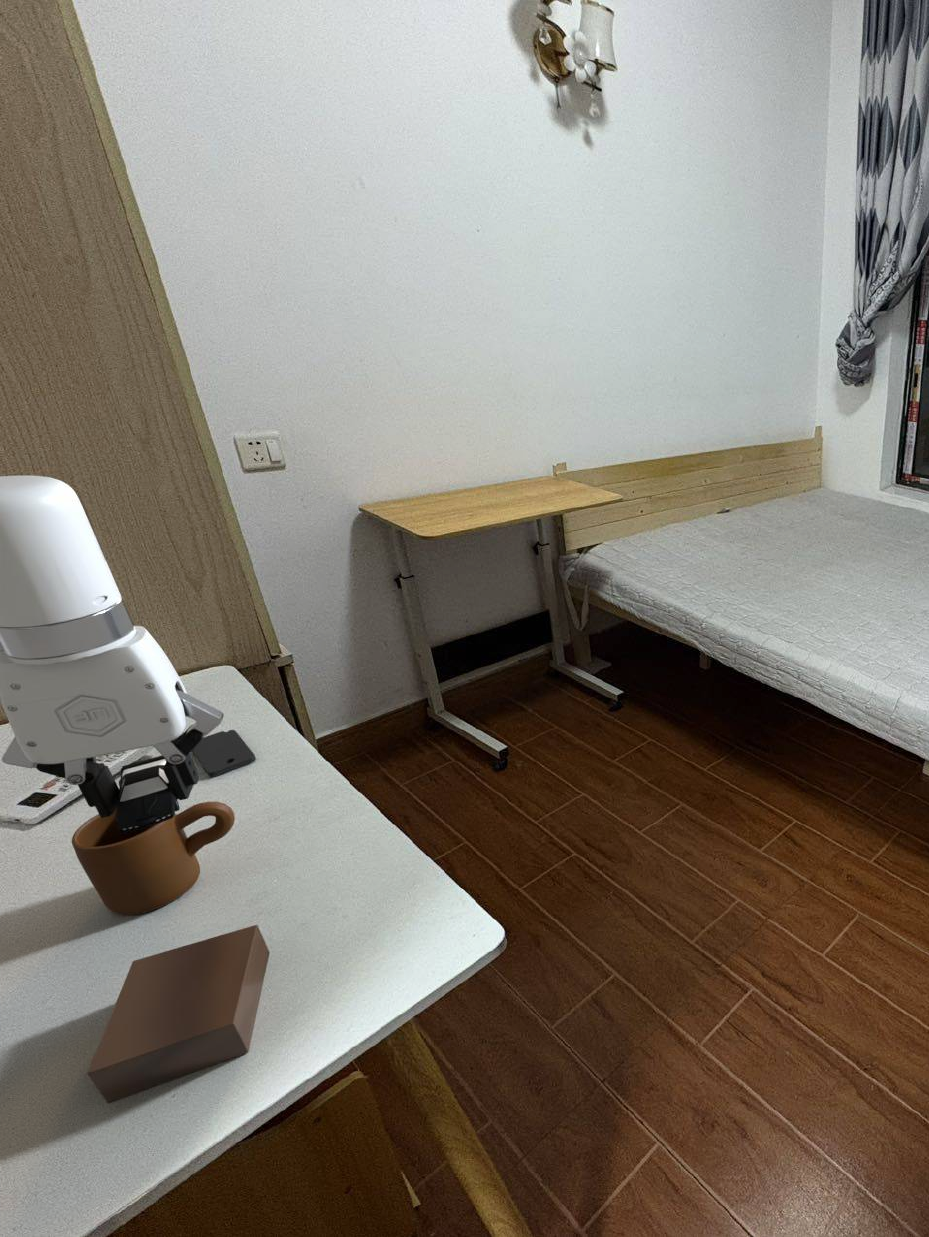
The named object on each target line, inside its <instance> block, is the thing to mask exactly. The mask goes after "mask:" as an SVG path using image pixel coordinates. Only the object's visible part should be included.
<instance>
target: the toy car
mask: <svg viewBox="0 0 929 1237" xmlns="http://www.w3.org/2000/svg"><path fill="white" fill-rule="evenodd" d="M165 764H166V760H165V758H164V757H163V756H162V755H159V756H155V757H151V758H147V759H143V760H140V761H136V762H133V763H129V764H125V765H122V766H121V768H120V778H119V780H118V788H119V797H117V798H115V799H114V800H118V805H117V810H116V813H115V818H116V821H117V824H118V827H119V829H120V831H121V833H127V832H131V831H136V830H140V829H144V828H149V827H151V826H154V825H156V824H159V823H161V822H164V821H166V820H169V819H171V818H173V817H174V814H176V812H178V811H180V808H181V807H180V804H179V801H178V800H177V799H176V796H175V794H174V792H173V790H172V788H171V786H170V784H169V781H168V779H167V777H166V775H165V773H164V770H163V768H164V766H165Z"/></svg>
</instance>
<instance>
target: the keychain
mask: <svg viewBox="0 0 929 1237" xmlns="http://www.w3.org/2000/svg"><path fill="white" fill-rule="evenodd" d="M191 752H192V753H193V755H194V756H195V757H196V759H197V760H198V762H199V763H200V764H201V766H202V767H203V769H204V771H205V772H206V773H207V775H208V776H209V777H211V778H213V777H217V776H220V775H223V774H225V773H228V772H231V771H234V770H236V769H238V768H241V767H243V766H246V765H249V764H251V763H252V764H253V763H254V762H256V761H257V757H256V755H255V753H254V752H253V751H252V750H251V749H250V747H249V746H248V744H246V742H245V741H244V740H243V738H242V737H241V736H240V734H238V732H237V731H236V730H235V729H229V730H227V731H224V730H222V731H218V732H216V733H212V734H210V735H209V734H208V735H205V736H204V737H203V738H202V739H201V741H200V742H199V743H198V744H197V745H196V746H195V748H194V749H193V750H192V751H191Z"/></svg>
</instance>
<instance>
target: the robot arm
mask: <svg viewBox="0 0 929 1237" xmlns="http://www.w3.org/2000/svg"><path fill="white" fill-rule="evenodd" d="M128 610H129V609H128V608H127V606H126V603H125V601H124V599H123V596H122V595H121V592H120V589H119V588H118V585H117V582H116V580H115V578H114V576H113V574H112V571H111V569H110V566H109V564H108V561H107V559H106V558H105V555H104V554H103V551H102V549H101V547H100V544H99V542H98V540H97V536H96V535H95V532H94V530H93V528H92V525H91V523H90V520H89V518H88V516H87V514H86V512H85V509H84V507H83V505H82V503H81V500H80V498H79V496H78V495H77V493H76V492H75V490H74V488H72V487H71V486H70V485H69V484H67V483H66V482H64V481H62V480H60V479H57V478H54V477H49V476H44V475H43V476H42V475H26V474H25V475H3V476H0V701H1V704H2V707H3V710H4V713H5V715H6V718H7V721H8V723H9V726H10V728H11V730H12V733H13V735H14V736H13V739H12V741H11V742H10V744H9V746H8V747H7V749H6V751H5V752H4V754H3V756H2V757H1V761H2V763H4V764H7V765H10V766H17V767H22V768H27V769H36V770H37V771H38V772H40V773H45V774H47V775H51V776H54V777H59V778H62V779H64V780H65V782H66V783H67V784H69V785H71V786H73V785H74V786H77V787H78V789H79V790H80V792H81V794H82V796H83V798H84V799H85V801H86V803H87V805H88V807H90V808H93V807H94V808H95V809H96V811H97V813H98V814H99V815H100V817H101V818H104V817H109V816H111V814H113V813H114V812H115V810H116V808H117V805H118V800H114V799H115V798H117V797H119V785H118V783H117V782H116V780H115V777H114V776H113V774H112V772H111V770H110V768H109V766H108V765H105V763H104V762H101V763H99V762H97V758H96V757H103V756H108V755H113V754H118V753H123V752H128V751H133V750H137V749H143V748H148V747H154V748H155V750H156V751H157V752H158V753H159V754H160V756H163V757H164V758H165V760H166V764H165V766H164V768H163V770H164V773H165V775H166V777H167V779H168V781H169V784H170V786H171V788H172V790H173V792H174V794H175V796H176V799H177V801H178V800H179V801H183V800H188V799H189V797H190V795H191V792H192V789H193V787H194V785H198V783H199V779H200V776H199V771H198V770H197V768H196V765H195V763H194V760H193V758H192V756H191V754H190V753H191V752H193V751H192V750H193V749H194V748H195V746H196V745H197V744H198V743H199V742H200V741H201V739H202V738H203V737H206V736H208V735H209V734H210V733H211V732H213V731H214V730H215V729H216V728H217V727H218V726H220V725H221V724H222V721H223V718H224V717H225V716H224V715H225V714H224V713H223V711H221V710H219V709H217V708H215V707H214V706H212V705H209V704H208V703H205V702H203V701H202V700H200V699H198V698H196V697H194V696H192V695H190V694H188V692H187V689H186V688H185V686H184V683H183V681H182V680H181V678H180V676H179V674H178V672H177V670H176V669H175V667H174V665H173V663H172V662H171V660H170V659H169V657H168V656H167V654H166V653H165V651H164V650H163V649H162V647H161V646H160V644H159V643H158V642H157V640H156V639H155V638H154V637H153V636H152V635H151V633H150V632H149V631H148V629H146V628H145V627H144V626H143V625H134V622H133V619H132V617H131V615H130V613H129V611H128ZM186 717H187V718H190V719H192V720H193V721H195V723H193V724H191V725H189V726H188V728H187V729H186V726H187V719H186Z"/></svg>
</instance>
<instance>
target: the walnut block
mask: <svg viewBox="0 0 929 1237" xmlns="http://www.w3.org/2000/svg"><path fill="white" fill-rule="evenodd" d="M269 957H270V950H269V948H268V945H267V943H266V941H265V939H264V936H263V934H262V932H261V930H260V927H259V925H258V924H255V925H251V926H248V927H244V928H240V929H238V930H237V929H236V930H234V931H230V932H226V933H224V934H220V935H217V936H214V937H209V938H206V939H203V940H199V941H197V942H193V943H190V944H186V945H182V946H179V947H176V948H172V949H169V950H166V951H163V952H159V953H155V954H152V955H148V956H145V957H142V958H139V959H135V960H133V961H132V962H131V965H130V968H129V970H128V972H127V975H126V977H125V980H124V982H123V984H122V987H121V989H120V992H119V995H118V997H117V999H116V1002H115V1004H114V1007H113V1009H112V1012H111V1014H110V1017H109V1019H108V1021H107V1024H106V1026H105V1029H104V1031H103V1034H102V1036H101V1039H100V1041H99V1043H98V1046H97V1049H96V1051H95V1052H94V1056H93V1058H92V1060H91V1064H90V1066H89V1068H88V1070H87V1073H86V1074H87V1076H88V1078H90V1080H91V1082H92V1083H93V1084H94V1086H95V1087H96V1089H97V1091H98V1092H99V1093H100V1094H101V1096H102V1097H103V1099H104V1100H105V1102H106V1103H107V1104H109V1103H112V1102H115V1101H118V1100H120V1099H123V1098H126V1097H129V1096H131V1095H134V1094H137V1093H140V1092H143V1091H145V1090H149V1089H151V1088H154V1087H157V1086H159V1085H163V1084H165V1083H167V1082H170V1081H173V1080H176V1079H179V1078H181V1077H184V1076H187V1075H189V1074H192V1073H195V1072H198V1071H202V1070H204V1069H206V1068H210V1067H212V1066H215V1065H217V1064H221V1063H223V1062H226V1061H229V1060H231V1059H234V1058H237V1057H240V1056H242V1055H246V1054H248V1053H249V1052H250V1048H251V1047H250V1046H251V1042H252V1037H253V1032H254V1028H255V1022H256V1017H257V1014H258V1008H259V1004H260V1000H261V994H262V990H263V985H264V980H265V975H266V972H267V971H266V970H267V966H268V961H269Z"/></svg>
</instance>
